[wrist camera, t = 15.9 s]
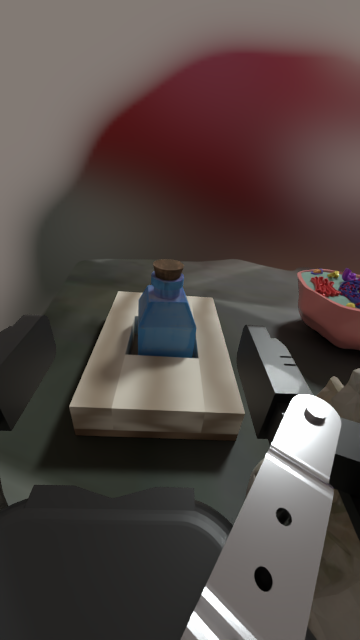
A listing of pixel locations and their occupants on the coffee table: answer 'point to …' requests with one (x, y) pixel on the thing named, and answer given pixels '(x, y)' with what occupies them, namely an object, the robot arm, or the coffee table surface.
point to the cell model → (331, 305)
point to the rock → (337, 541)
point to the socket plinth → (158, 382)
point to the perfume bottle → (165, 314)
